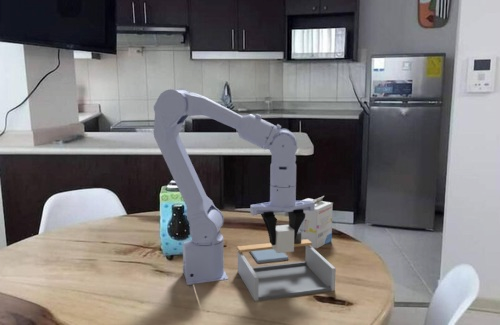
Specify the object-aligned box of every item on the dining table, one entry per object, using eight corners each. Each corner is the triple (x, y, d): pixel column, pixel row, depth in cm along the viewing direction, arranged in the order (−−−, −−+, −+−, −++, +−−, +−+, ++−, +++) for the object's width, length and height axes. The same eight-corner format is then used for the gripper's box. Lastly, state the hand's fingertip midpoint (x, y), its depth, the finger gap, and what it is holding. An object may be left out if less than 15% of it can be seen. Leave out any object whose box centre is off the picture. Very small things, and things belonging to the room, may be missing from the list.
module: (276, 253, 99) (277, 231, 98) (271, 246, 103) (271, 226, 102) (293, 251, 100) (294, 230, 99) (288, 245, 104) (288, 224, 103)
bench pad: (258, 264, 111) (258, 260, 110) (249, 253, 118) (249, 248, 118) (288, 261, 113) (288, 257, 112) (278, 250, 120) (278, 245, 120)
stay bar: (239, 252, 103) (239, 240, 102) (237, 248, 105) (236, 236, 105) (311, 245, 108) (311, 233, 107) (307, 241, 110) (308, 229, 109)
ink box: (307, 235, 132) (308, 191, 129) (332, 241, 127) (333, 196, 124) (290, 243, 125) (291, 197, 123) (316, 250, 120) (317, 202, 118)
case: (254, 303, 92) (254, 277, 91) (237, 273, 106) (237, 251, 105) (334, 292, 96) (335, 268, 95) (308, 265, 110) (308, 243, 109)
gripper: (256, 190, 93) (256, 252, 96) (320, 186, 97) (318, 246, 99) (248, 183, 100) (248, 240, 102) (308, 179, 103) (307, 235, 106)
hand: (282, 242), depth 101 cm, fingers closed on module, 4 cm apart
